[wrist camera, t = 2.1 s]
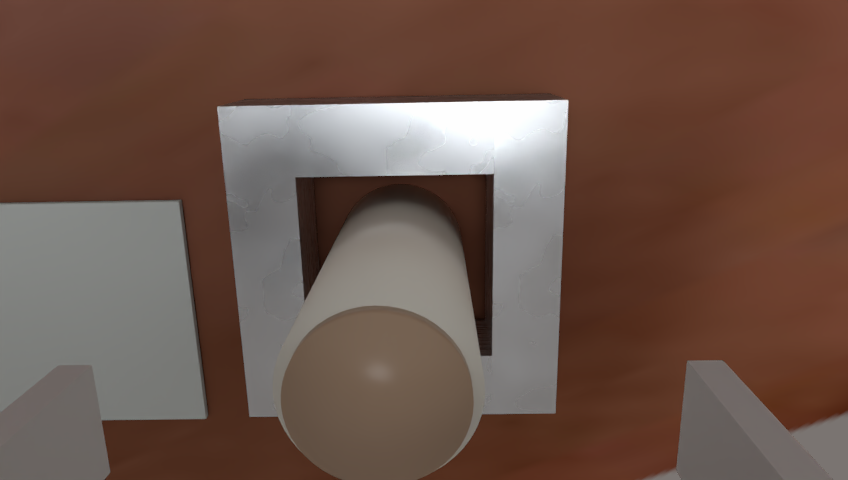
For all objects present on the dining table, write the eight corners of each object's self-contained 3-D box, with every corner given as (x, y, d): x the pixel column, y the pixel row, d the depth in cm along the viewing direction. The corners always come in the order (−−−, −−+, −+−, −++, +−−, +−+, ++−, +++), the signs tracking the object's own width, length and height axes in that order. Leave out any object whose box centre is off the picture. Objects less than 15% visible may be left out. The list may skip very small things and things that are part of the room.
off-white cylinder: (345, 299, 28) (276, 498, 16) (338, 185, 27) (258, 302, 14) (461, 298, 28) (486, 496, 16) (461, 183, 27) (488, 299, 14)
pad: (-11, 417, 30) (-15, 421, 30) (-59, 203, 27) (-65, 205, 27) (208, 415, 30) (206, 418, 29) (181, 199, 27) (178, 201, 27)
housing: (270, 374, 29) (249, 416, 26) (245, 99, 26) (217, 106, 22) (540, 371, 29) (555, 413, 26) (550, 93, 26) (568, 99, 22)
